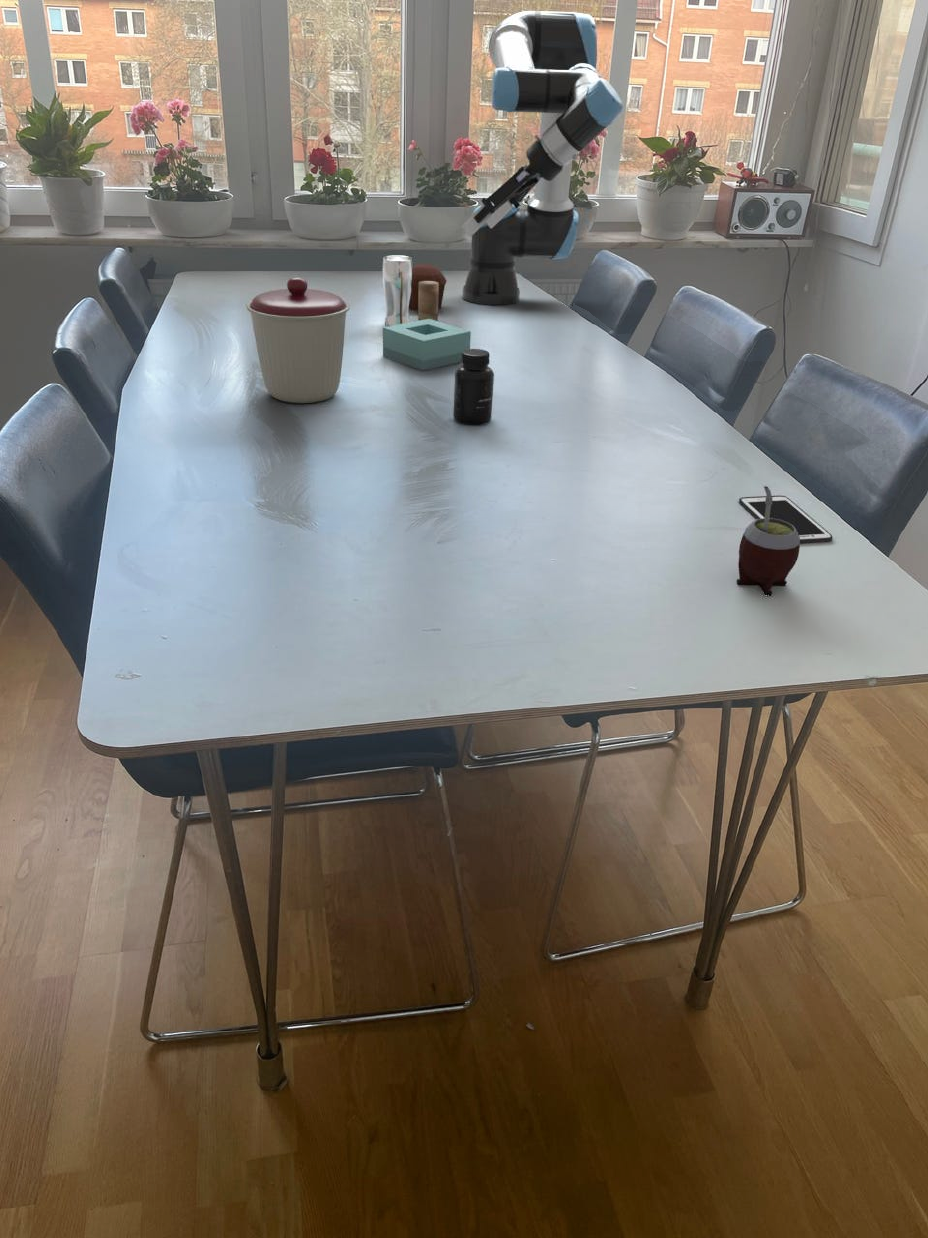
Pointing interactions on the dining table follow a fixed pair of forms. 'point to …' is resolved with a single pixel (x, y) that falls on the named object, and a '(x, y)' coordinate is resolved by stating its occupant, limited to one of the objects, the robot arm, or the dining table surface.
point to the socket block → (425, 343)
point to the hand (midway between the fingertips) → (476, 227)
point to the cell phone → (788, 517)
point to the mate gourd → (767, 551)
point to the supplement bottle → (473, 388)
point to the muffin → (426, 274)
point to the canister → (299, 341)
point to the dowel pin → (428, 300)
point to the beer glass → (397, 288)
